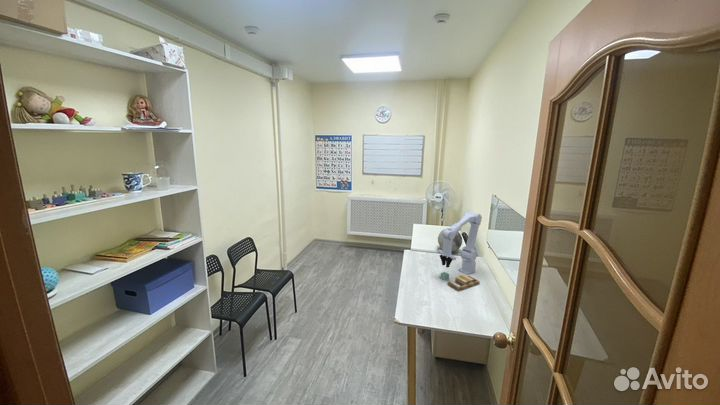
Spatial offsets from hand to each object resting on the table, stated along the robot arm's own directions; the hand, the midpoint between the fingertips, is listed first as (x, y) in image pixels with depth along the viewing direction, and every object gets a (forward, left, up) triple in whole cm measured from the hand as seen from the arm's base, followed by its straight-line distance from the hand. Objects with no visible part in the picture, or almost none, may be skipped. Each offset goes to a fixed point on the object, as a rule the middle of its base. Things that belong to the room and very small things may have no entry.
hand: (445, 266), depth 185 cm
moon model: (-41, -35, -10) cm, 55 cm away
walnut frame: (-6, +12, -9) cm, 16 cm away
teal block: (0, 0, -10) cm, 10 cm away
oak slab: (-9, +9, -10) cm, 16 cm away
